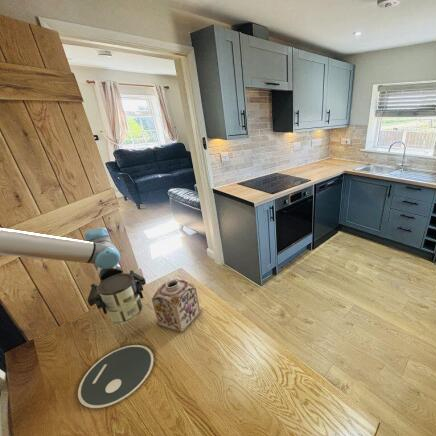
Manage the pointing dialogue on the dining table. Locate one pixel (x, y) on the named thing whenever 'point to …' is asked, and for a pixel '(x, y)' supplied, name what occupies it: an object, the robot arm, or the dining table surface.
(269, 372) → the dining table surface
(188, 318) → the decorative jar
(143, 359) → the board
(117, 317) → the coffee can
